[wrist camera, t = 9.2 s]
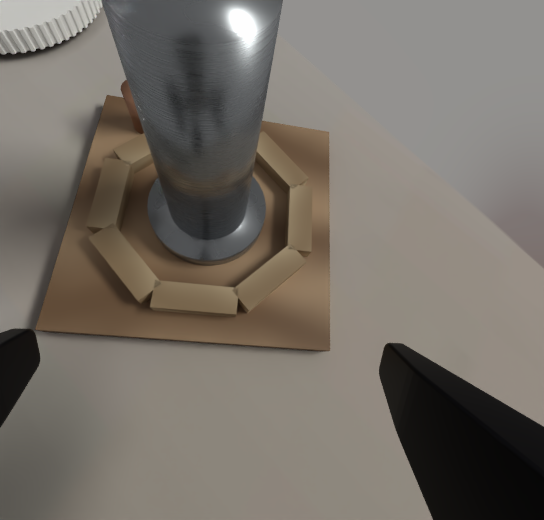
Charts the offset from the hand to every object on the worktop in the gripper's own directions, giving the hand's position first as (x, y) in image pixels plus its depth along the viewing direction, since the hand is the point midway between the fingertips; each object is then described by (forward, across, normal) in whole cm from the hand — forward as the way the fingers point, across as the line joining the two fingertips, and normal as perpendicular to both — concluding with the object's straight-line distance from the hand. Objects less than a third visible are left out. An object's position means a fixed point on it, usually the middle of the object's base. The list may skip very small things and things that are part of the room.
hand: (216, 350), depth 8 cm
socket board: (+14, +2, 0) cm, 14 cm away
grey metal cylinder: (+13, +2, -1) cm, 13 cm away
